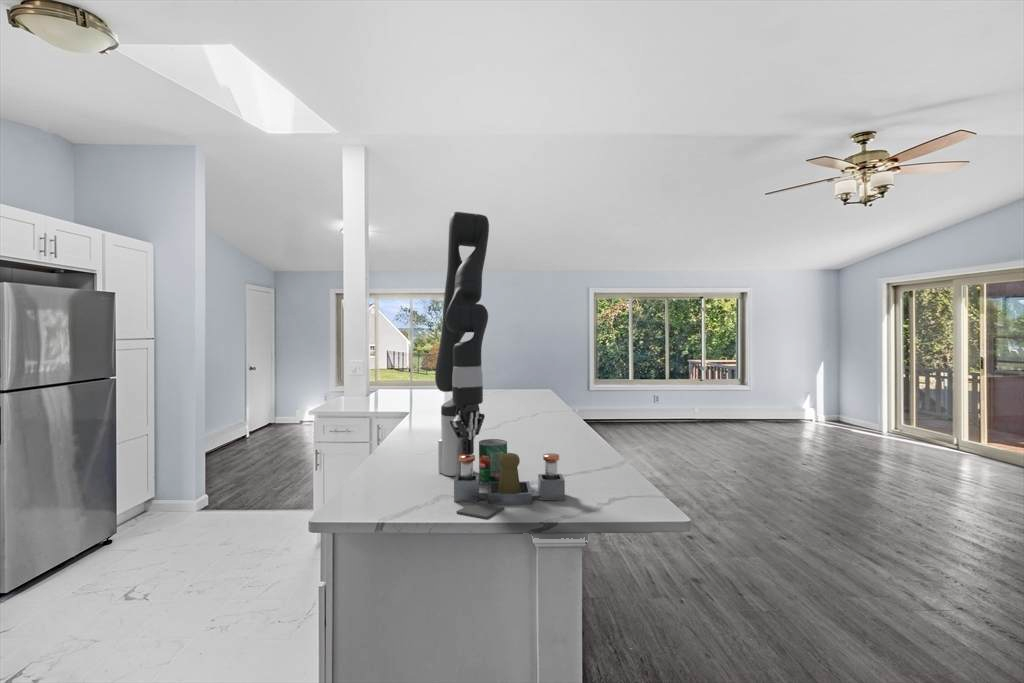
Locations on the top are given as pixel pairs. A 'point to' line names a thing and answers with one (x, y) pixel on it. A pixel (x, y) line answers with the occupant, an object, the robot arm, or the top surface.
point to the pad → (480, 510)
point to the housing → (546, 491)
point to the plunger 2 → (550, 466)
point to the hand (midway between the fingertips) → (468, 454)
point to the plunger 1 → (467, 466)
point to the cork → (509, 473)
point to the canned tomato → (490, 459)
